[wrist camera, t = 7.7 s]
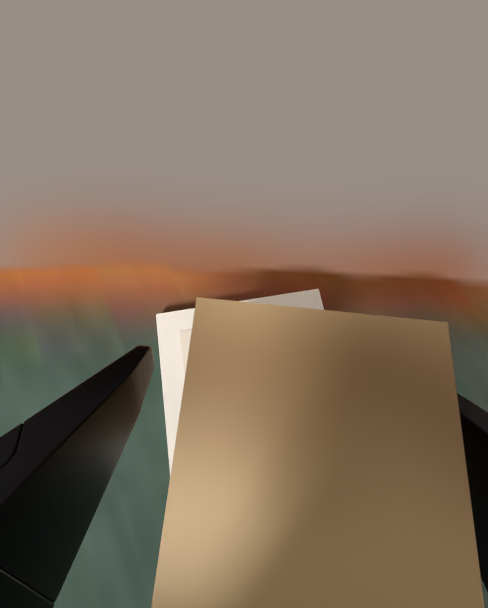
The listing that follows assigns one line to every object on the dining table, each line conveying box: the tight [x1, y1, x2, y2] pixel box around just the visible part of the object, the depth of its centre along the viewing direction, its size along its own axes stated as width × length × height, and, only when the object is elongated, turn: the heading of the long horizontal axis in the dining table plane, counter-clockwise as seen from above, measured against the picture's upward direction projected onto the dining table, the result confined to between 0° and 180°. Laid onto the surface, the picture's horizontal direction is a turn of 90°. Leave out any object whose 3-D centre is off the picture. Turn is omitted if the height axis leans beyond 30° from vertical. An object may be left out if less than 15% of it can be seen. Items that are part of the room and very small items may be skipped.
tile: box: [156, 289, 324, 476], centre depth 16 cm, size 12×12×1 cm
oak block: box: [151, 297, 485, 608], centre depth 10 cm, size 5×5×12 cm
